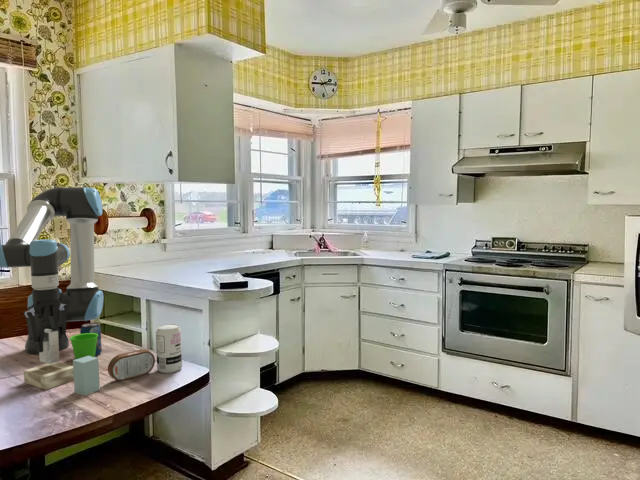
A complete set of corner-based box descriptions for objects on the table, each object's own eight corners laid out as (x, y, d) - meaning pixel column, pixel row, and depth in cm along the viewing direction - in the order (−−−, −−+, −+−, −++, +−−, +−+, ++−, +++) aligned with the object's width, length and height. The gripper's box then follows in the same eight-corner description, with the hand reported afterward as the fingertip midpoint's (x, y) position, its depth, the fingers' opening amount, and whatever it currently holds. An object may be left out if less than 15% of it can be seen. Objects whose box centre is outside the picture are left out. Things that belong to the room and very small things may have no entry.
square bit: (89, 386, 145) (88, 355, 144) (99, 389, 142) (98, 358, 142) (74, 392, 141) (72, 360, 140) (84, 395, 138) (83, 363, 137)
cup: (88, 372, 158) (86, 340, 157) (65, 370, 160) (63, 339, 159) (105, 363, 166) (104, 333, 166) (83, 362, 168) (81, 332, 167)
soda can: (103, 356, 175) (101, 324, 174) (82, 359, 171) (81, 327, 170) (100, 351, 181) (98, 321, 180) (80, 354, 177) (78, 323, 176)
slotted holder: (55, 372, 158) (54, 361, 157) (76, 379, 152) (75, 367, 151) (24, 382, 149) (23, 370, 149) (45, 389, 143) (45, 377, 143)
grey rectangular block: (48, 358, 153) (47, 328, 152) (59, 361, 150) (58, 330, 149) (39, 361, 150) (37, 330, 149) (50, 364, 147) (48, 333, 146)
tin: (152, 370, 160) (151, 346, 159) (156, 372, 157) (155, 348, 157) (107, 382, 149) (106, 356, 148) (111, 384, 147) (110, 358, 146)
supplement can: (160, 365, 163) (159, 324, 162) (184, 365, 164) (183, 323, 163) (154, 374, 155) (152, 330, 154) (179, 373, 156) (177, 329, 155)
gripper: (25, 292, 139) (30, 369, 141) (76, 284, 153) (80, 354, 155) (12, 290, 143) (16, 365, 145) (63, 283, 157) (66, 351, 159)
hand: (49, 359), depth 150 cm, fingers closed on grey rectangular block, 3 cm apart
